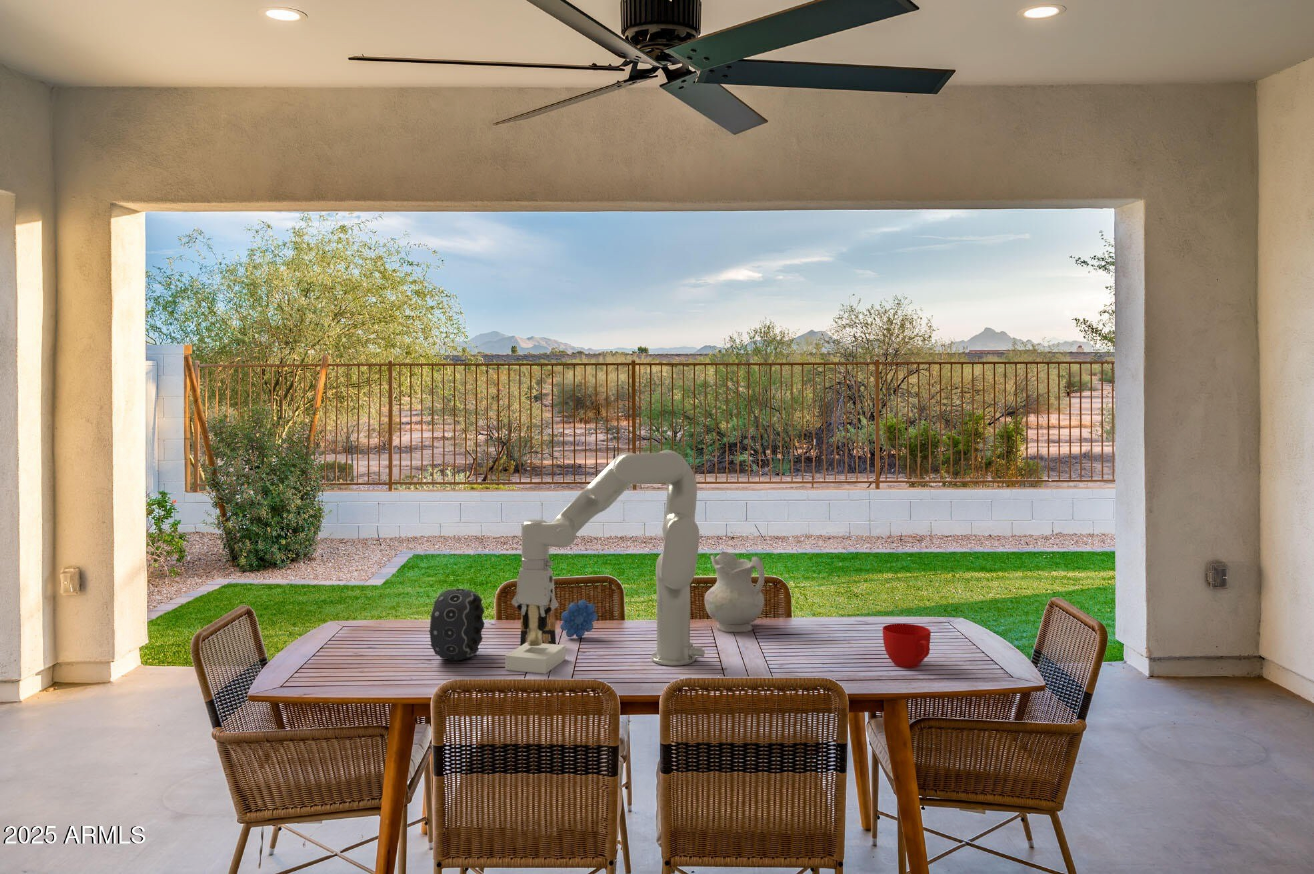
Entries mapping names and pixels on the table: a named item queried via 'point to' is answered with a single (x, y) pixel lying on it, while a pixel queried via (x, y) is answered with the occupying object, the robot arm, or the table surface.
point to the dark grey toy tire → (456, 624)
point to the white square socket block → (535, 658)
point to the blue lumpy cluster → (578, 619)
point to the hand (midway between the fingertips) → (534, 628)
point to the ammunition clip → (547, 633)
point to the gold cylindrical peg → (534, 626)
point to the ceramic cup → (906, 644)
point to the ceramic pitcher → (735, 593)
